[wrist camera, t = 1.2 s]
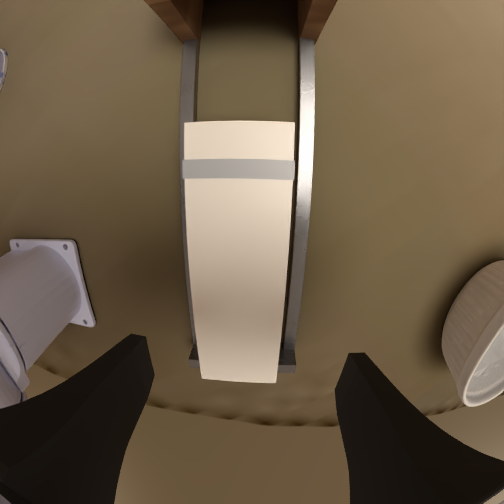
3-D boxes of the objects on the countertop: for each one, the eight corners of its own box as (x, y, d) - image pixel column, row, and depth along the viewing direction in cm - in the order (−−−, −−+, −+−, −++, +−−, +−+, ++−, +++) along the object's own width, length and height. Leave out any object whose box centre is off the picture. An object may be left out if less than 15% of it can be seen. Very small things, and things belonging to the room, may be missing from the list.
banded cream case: (213, 330, 20) (200, 379, 15) (207, 130, 15) (182, 122, 10) (275, 333, 20) (276, 384, 15) (286, 131, 15) (296, 122, 10)
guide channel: (196, 345, 21) (190, 366, 18) (187, 44, 13) (175, 30, 10) (292, 350, 20) (294, 372, 18) (311, 43, 12) (319, 28, 10)
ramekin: (531, 268, 17) (569, 296, 10) (476, 364, 22) (501, 402, 15) (476, 227, 16) (533, 261, 10) (405, 357, 21) (433, 412, 14)
